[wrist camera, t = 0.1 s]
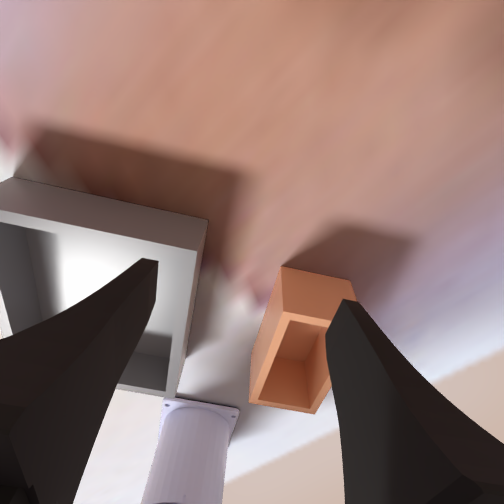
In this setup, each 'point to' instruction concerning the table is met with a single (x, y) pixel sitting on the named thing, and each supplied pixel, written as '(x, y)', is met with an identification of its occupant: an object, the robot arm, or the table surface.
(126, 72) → the table surface
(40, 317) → the big crate
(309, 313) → the box
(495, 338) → the table surface
